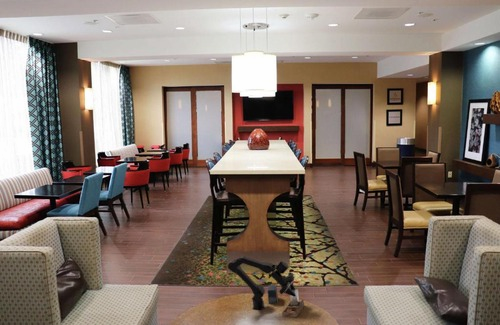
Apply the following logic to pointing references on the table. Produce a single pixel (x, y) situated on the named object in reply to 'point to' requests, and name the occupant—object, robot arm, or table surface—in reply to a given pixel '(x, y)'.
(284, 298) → the table surface
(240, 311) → the table surface
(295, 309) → the divided wooden tray
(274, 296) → the small box
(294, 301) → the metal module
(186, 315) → the table surface
